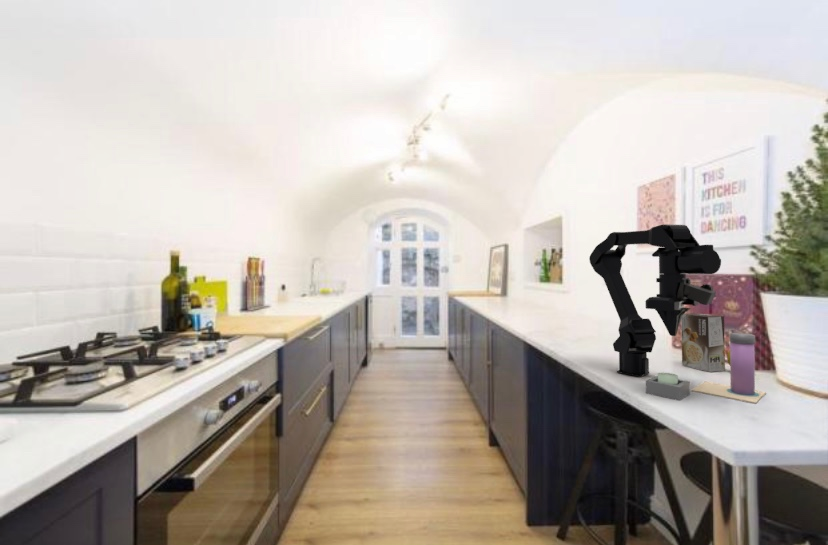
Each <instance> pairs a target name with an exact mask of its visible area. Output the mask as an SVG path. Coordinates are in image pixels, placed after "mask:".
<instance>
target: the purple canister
mask: <svg viewBox="0 0 828 545" xmlns="http://www.w3.org/2000/svg"><path fill="white" fill-rule="evenodd" d="M755 344H756V335H755V334H751V333H742V332H732V333H731V332H729V348H730V349H729V350H730V365H729V367H730V368H729V370H730V372H729V373H730V375H729V376H730V386H731V392H733V393H736V394H741V395H755V390H756V384H755V382H756V380H755V376H756V374H755V373H756V372H755V370H756V369H755V368H756V366H755V365H756V364H755V363H756V362H755Z"/></svg>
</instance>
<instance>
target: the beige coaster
mask: <svg viewBox="0 0 828 545" xmlns="http://www.w3.org/2000/svg"><path fill="white" fill-rule="evenodd" d="M690 392H695V393H698V394H705V395H710V396H714V397H719V398H725V399H730V400H735V401H740V402H746V403H750V404H757V403H758V402H759V401H761V400H762V398H763V397H764V396H765V395H766V394H767V391H761V390H756V389H755V395H741V394H736V393H733V392H731V385H728V384H722V383H716V382H711V381H703V382H702V383H700V384H698V385H696V387H693V388H692V389H691V390H690Z"/></svg>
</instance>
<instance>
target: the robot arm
mask: <svg viewBox="0 0 828 545" xmlns="http://www.w3.org/2000/svg"><path fill="white" fill-rule="evenodd" d="M629 245H650V246H653V247H658V248H657V249H656V250H655V251H654V252H653V253H652V254H651V256H652V257H653V258H655V257H656V258H657V257H658V274H659V276H658V277H656V279H655V280H656V283H659V284H658V291H659V293H657V294H656V296H651V297H650V296H649V297H648V298H647V299H646V300H645V309H647V310H650V309H651V310H654V311H656V313H657V314H658V316H659V318H660V319H661V321H662V322H663V325H664V326H665V329H666V331H667V333H668V334H669V336H671V337H676V336H677V333H678V330H679V327H680V324H681V318H682V315H683V314H687V312H688V311H690V310H691V309H692V308H691V307H685V306H692V307H694V306H696V307H697V306H699V304H700V305H704V306H708V305H711V304H712V301H713V300H714V298H716V294H717V292H716V291H715V290H714V286H713V285H711V284H708V283H704V284H702V285H700V286H699V285H694V284H692V283H691V279H690V277H687V275H714V274H716V273H718V271H719V270H720V268H721V265H722V259H721V258H720V255H719V252H717V251H716V250H714V245H713V244H700V243H699V242H698V241H697V239H696V238H695V237H694V236H693V235H692V233H691V230H690V228H689V227H688V225H686V224H665V223H664V224H659V225H657V226H652V227H651V228H649V229H647V230H635V231H613V232H610V233H609V234H608V235H607V237H606V238H605V239H604V240H603V241H601V242H600V243H599V244H597V245H596V246H595V248H594V249H593V251H592V252H591V254H590V256H589V263H590V266H591V267H592V269H593V270H594V272H595V273H596V274H597V275H598V276H600V277H601V278H602V279H603V281H604V284H605V285H606V289H607V291H608V293H609V297H610V298H611V301H612V303H613V305H614V307H615V310H616V312H617V315H618V317H619V320H620V322H619V327H618V333H619V336H618V337H617V339H615V341H614V342H613V343H612V346H613V350H614V352H617V353H618V359H619V360H618V364H619V368H618V370H616V373H618V374H623V375H627V376H633V377H638V378H641V377H644V376H646V375H649V374H650V370H649V369H650V368H649V366H650V364H649V362H650V361H649V360H650V359H649V358H648V357H647V356H648V355H647V353H652V352H653V348H654V346H655V342H656V340H657V336H656V332H657V331H656V329H655V328H654V326H653V324H652V321H651V320H650V318H643V317H641V315H639V313H638V311H637V308H636V306H635V303H634V301H633V299H632V297H631V294H630V292H629V290H628V287H627V285H626V283H625V281H624V279H623V276H622V274H621V272H622V271H621V270H622V267H623V263H622V259H623V258H624V256H625V255H626V248H627V246H629ZM615 246H617V247H616V248H615V249H613V248H614V247H615Z"/></svg>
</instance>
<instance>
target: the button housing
mask: <svg viewBox="0 0 828 545" xmlns="http://www.w3.org/2000/svg"><path fill="white" fill-rule="evenodd" d="M690 388H691V384H690V380H689V381H688V380H683V379H678V385H671V384H666V383H661V382H658V375H656V376H653V377H651V378H649V379H646V380H645V394H648V393H649V394H648V395H652V394H653V395H652V396H657V397H661V398H667V399H672V400H675V399H676V401H681V400H682V399H684V398H686V397H688V396H690V394H691V390H690Z"/></svg>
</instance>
